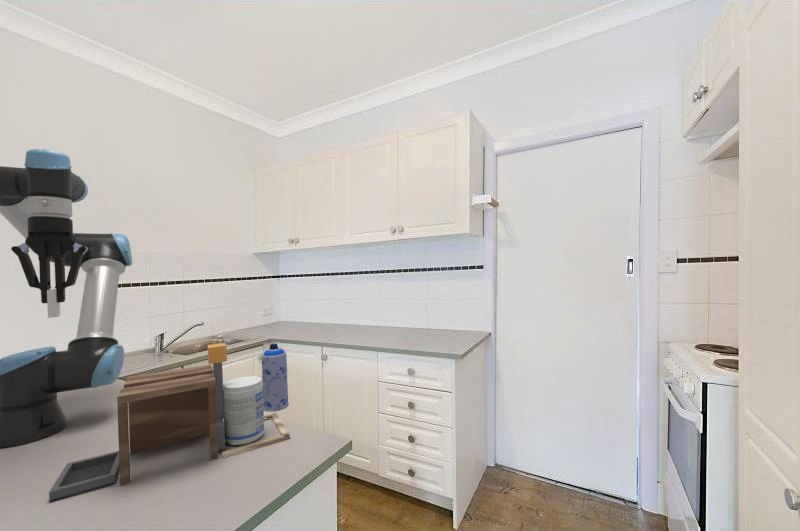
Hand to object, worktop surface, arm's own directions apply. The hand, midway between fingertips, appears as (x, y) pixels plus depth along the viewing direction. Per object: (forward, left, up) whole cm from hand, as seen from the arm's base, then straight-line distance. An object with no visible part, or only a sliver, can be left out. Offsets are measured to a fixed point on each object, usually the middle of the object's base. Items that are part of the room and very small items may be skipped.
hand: (54, 316), depth 82 cm
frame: (+13, +41, -34) cm, 55 cm away
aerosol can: (-3, +50, -35) cm, 61 cm away
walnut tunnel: (+13, +23, -34) cm, 43 cm away
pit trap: (+13, +8, -34) cm, 38 cm away
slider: (+13, +33, -34) cm, 49 cm away
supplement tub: (+13, +39, -35) cm, 54 cm away
